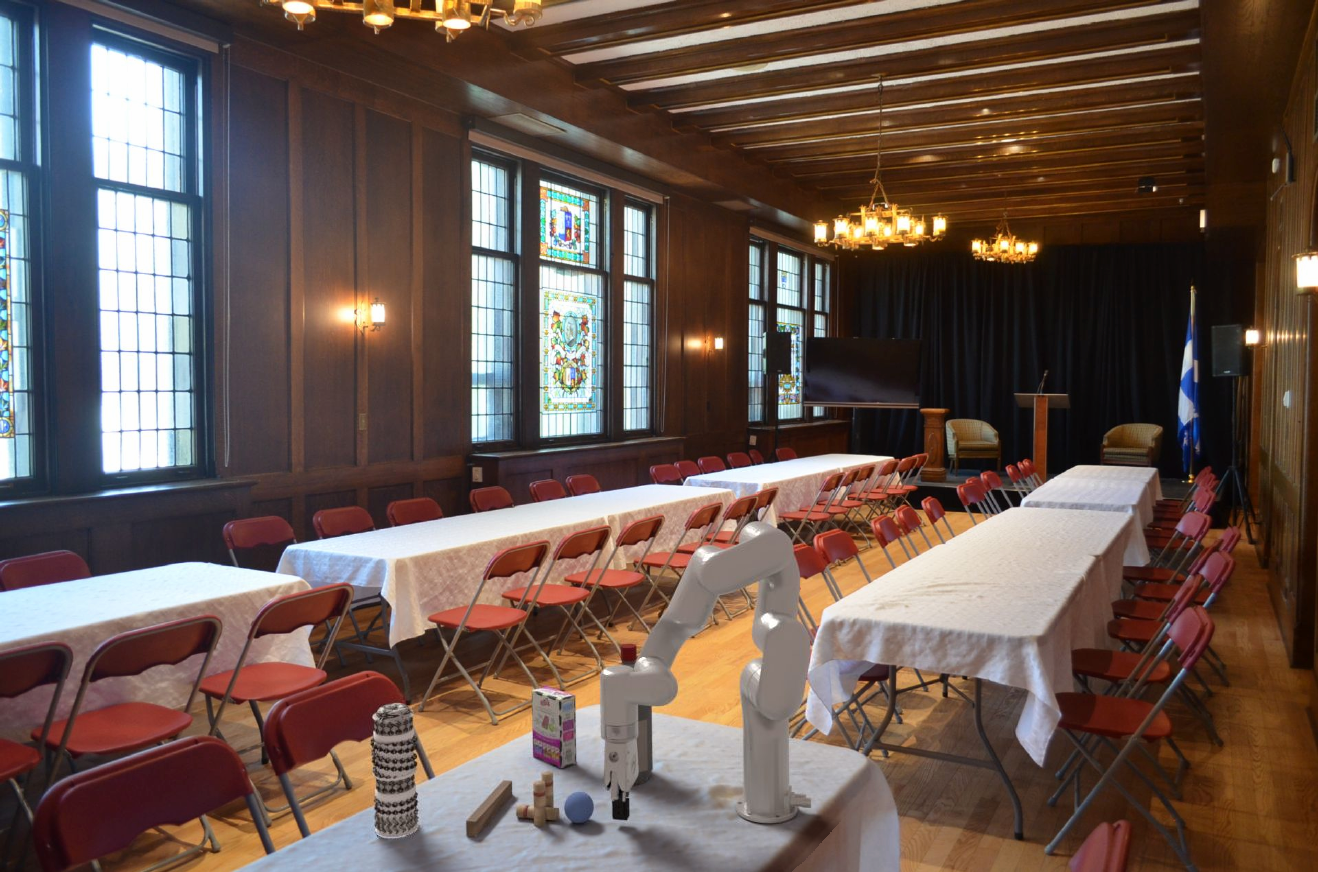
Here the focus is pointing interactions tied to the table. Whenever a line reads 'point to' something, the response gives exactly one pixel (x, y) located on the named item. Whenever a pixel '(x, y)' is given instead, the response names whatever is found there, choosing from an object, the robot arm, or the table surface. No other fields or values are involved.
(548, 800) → the pin
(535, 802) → the pin
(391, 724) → the decorative candle
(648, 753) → the liquor
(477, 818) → the rail
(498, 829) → the table surface
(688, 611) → the robot arm
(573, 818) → the ball
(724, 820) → the table surface
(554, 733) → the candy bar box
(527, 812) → the front pin
